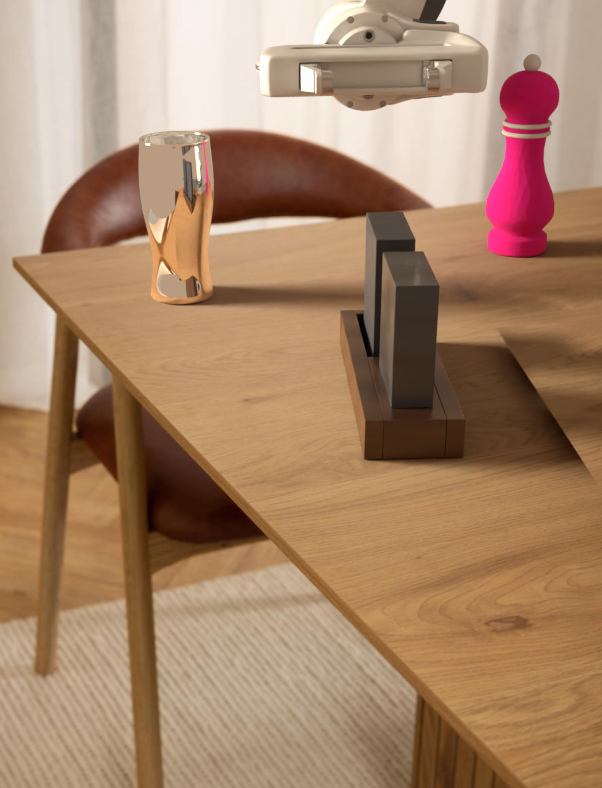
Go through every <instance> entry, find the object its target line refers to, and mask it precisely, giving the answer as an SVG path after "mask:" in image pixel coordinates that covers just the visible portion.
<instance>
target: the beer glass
mask: <svg viewBox="0 0 602 788" xmlns="http://www.w3.org/2000/svg"><path fill="white" fill-rule="evenodd" d="M138 186H139V187H138V188H139V197H140V203H141V204H140V205H141V209H142V214H143V218H144V223H145V227H146V232H147V235H148V240H149V244H150V249H151V255H152V256H151V257H152V277H151V286H150V296H151V298H152V299H153V300H155V301H156V302H159V303H162V304H168V305H190V304H197V303H201V302H204V301H206V300H208V299H210V298H211V297H212V296H213V294H214V285H213V281H212V278H211V274H210V266H209V243H210V242H209V241H210V235H211V228H212V227H211V226H212V220H213V213H214V212H213V211H214V199H215V178H214V166H213V156H212V150H211V137H210V136H209V134H206V133H204V132H200V131H193V130H192V131H191V130H166V131H157V132H150V133H148V134H143V135H142V136H139V138H138Z"/></svg>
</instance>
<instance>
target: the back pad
mask: <svg viewBox="0 0 602 788" xmlns="http://www.w3.org/2000/svg"><path fill="white" fill-rule="evenodd" d="M416 240H417V239H416V237H415V236H414V233H413V231H412V229H411V227H410V225H409V223H408V220H407V218H406V215H405V213H404V212H403V211H369V212H368V211H367V212H366V216H365V248H364V249H365V251H364V252H365V253H364V254H365V255H364V295H363V310H364V330H363V342H364V346H365V350H366V354H367V358H368V357H379V356H380V325H381V294H382V263H383V252H408V251H416Z"/></svg>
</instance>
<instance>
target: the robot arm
mask: <svg viewBox="0 0 602 788" xmlns="http://www.w3.org/2000/svg"><path fill="white" fill-rule="evenodd" d="M446 2H447V0H342V1H339V2H337V3H336V4H334V5H333V6H332V7H330V8H329V9H328V10H327V11H326V12H325V13H324V15H323V16H322V18H320V21H319V22H318V25H317V27H316V29H315V33H314V38H313V43H312V44H309V43H308V44H283V45H275V46H270V47H267V48H266V49H264V50H263V51H262V52H261V53H260V56H259V59H258V60H256V63H255V64H254V65H255V69H256V72H257V73H259V81H260V82H259V83H260V94H261V95H262V96H264V97H268V98H305V97H307V98H308V97H332V98H333V99H334V100H335V101H336V102H338V103H339V104H341V105H342V106H344V107H346V108H348V109H351V110H355V111H360V112H369V111H376V110H379V109H382V108H384V107H386V106H394V105H397V104H400V103H404V102H408V101H411V100H421V99H426V98H427V99H429V98H440V97H441V98H442V97H445V96H446V97H447V96H448V97H449V96H453V95H455V94H479V93H483V92H485V90H486V89H487V85H488V77H489V51H488V48H487V47H486V46H485V45H484V44H483V43H482V42H481V41H479V40H478V39H476V38H475V37H473V36H472V35H469V34H467V33H462V32H460V26H459V24H458V23H456V22H453V21H445V20H438V18H439V17H440V15H441V13H442V11H443V9H444V7H445V4H446Z"/></svg>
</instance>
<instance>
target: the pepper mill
mask: <svg viewBox="0 0 602 788" xmlns="http://www.w3.org/2000/svg"><path fill="white" fill-rule="evenodd" d="M522 65H523V68H524V69H523V70H520V71H516V72H515V73H512V74H511V75H510V76H508V77H507V78H506V79H505V81H504V82H503V84H502V86H501V87H500V92H499V96H498V98H499V107H500V109H501V110H502V112H503V113H504V114H505V117H506V118H504V119H503V120H502V130H501V134H502V135H503V136H505V151H504V159H503V161H502V165H501V168H500V170H499V172H498V174H497V176H496V178H495V180H494V182H493V184H492V186H491V188H490V190H489V193H488V195H487V198H486V202H485V209H484V210H485V216H486V218H487V219H488V221H489V222H490V224H491V226H492V227H493V228H491V229H490V230H489V231H488V232H487V245H486V246H487V249H488V250H489V252H491V253H493V254H496V255H498V256H499V255H500V256H504V257H512V258H528V257H529V258H530V257H535V256H539V255H542V254H544V253H545V252H546V250H547V242H548V234H547V232H546V231H545V230H544V228H545V227H546V226H548V224H549V223H550V222H551V221H552V220H553V217H554V216H555V198H554V193H553V189H552V187H551V184H550V182H549V178H548V176H547V171H546V168H545V167H546V166H545V148H546V142H547V138H548V137H549V136H551V134H552V131H551V126H552V125H553V122H552V120H550V117H551V116H552V114H553V113H554V112H555V111H556V110H557V109H558V106H559V104H560V88H559V84H558V83H557V81H556V79H554V77H553V76H552V75H551V74H549V73H547V72H545V71H541V70H540V68H541V66H542V60H541V58H540V56H539V55H538V54H535V53H531V54H528V55H526V56H525V58H524V59H523V63H522Z"/></svg>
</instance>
